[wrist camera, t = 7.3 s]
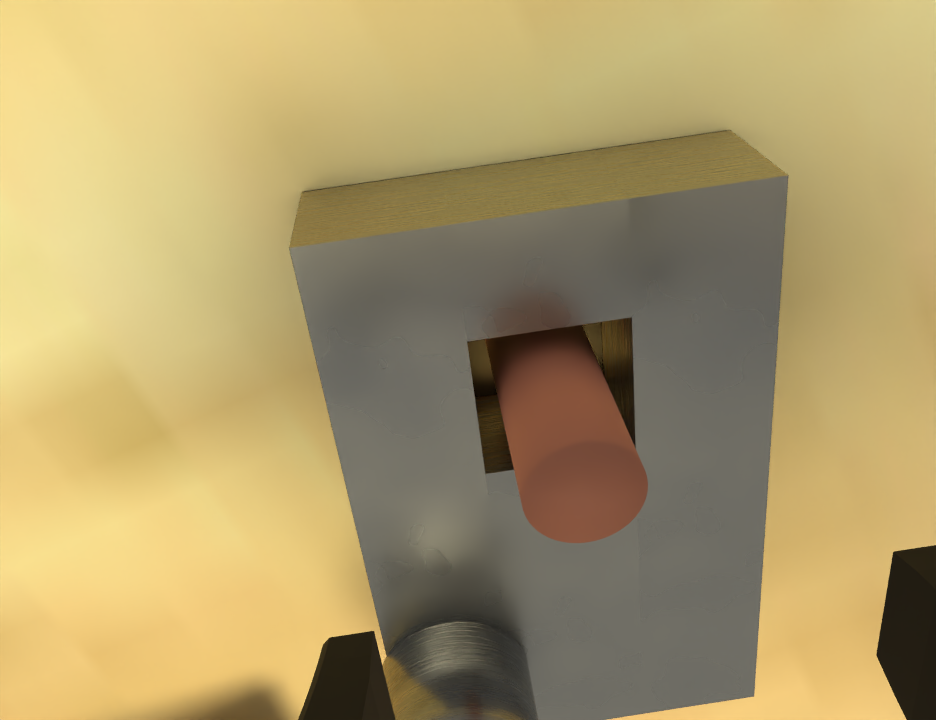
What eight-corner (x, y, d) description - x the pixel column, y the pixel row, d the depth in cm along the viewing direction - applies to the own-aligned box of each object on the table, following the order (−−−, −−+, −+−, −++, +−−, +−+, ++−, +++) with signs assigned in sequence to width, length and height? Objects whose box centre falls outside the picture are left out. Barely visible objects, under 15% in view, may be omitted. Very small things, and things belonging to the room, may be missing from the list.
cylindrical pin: (586, 359, 21) (656, 525, 16) (496, 382, 21) (536, 556, 16) (569, 277, 20) (638, 427, 15) (474, 302, 20) (508, 460, 15)
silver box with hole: (730, 130, 18) (903, 264, 12) (715, 610, 25) (821, 846, 19) (287, 193, 18) (242, 362, 12) (395, 659, 25) (401, 913, 19)
